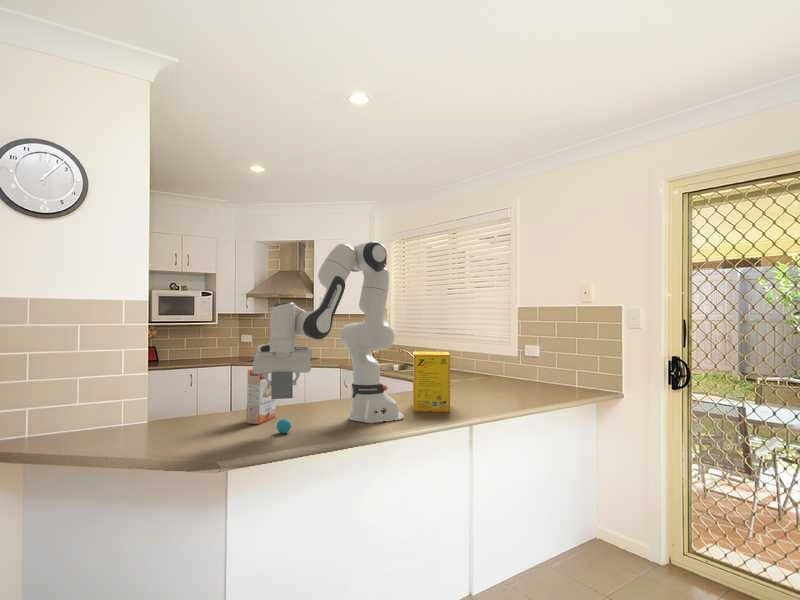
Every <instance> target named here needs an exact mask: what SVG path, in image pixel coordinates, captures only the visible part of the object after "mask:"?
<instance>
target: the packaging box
mask: <svg viewBox="0 0 800 600" xmlns="http://www.w3.org/2000/svg"><path fill="white" fill-rule="evenodd" d="M412 355H413V356H412V357H413V358H412V359H413V360H412V364H413V365H412V366H413V367H412V370H413V372H412V378H413V379H412V411H413V412H428V411H432V412H431V413H433V412H435V413H436V412H437V413H438V412H439V413H440V412H443V413H446V412H448V413H451V354H450V353H449V351H413V354H412Z"/></svg>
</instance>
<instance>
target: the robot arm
mask: <svg viewBox="0 0 800 600" xmlns="http://www.w3.org/2000/svg"><path fill="white" fill-rule="evenodd" d="M387 260H388V254H387V249H386V247H385V245H384V244H383V243H381V242H378V241H369V242H364V243H360V244H358V245H355V246H351V245H349V244H348V243H347V244H346V243H339V244H337V245H335V247H334V248H333V249H332V250H331V251H330V252H329V253H328V255H327V256H326V258H325V259H324V261H323V263H322V264H321V266H320V268H319V270H318V274H317V278H318V281H319V283H320V284H321V286H323V287H324V288H325V293H324V295H323V297H322V299H321V302H320V304H319V306H318V307H317V308H316V309H314V310H311V311H308V310H305V309H302V308H300V306H297V305H296V303H294V302H293V301H281V302H277V303H274V304H273V305H272V307H271V311H270V320H269V321H270V322H269V326H270V337H269V342H265V343H263V344H260V345H258V346H256V353H255V355H254V357H253V364H252V369H253V372H254V373H255V374H257V373H264V377H265V379H266V381H267V386H271V381H269V379H268V378H267V376H268V373H291V372H292V373H293V374H295V378H294V379H293V386H297V380H299V378H300V375H301V373H310V372H311V369H312V365H311V359H312V355H313V351H312V349H311V348H310V347H308V346H296V336H297V337H300V338H309V339H313V340H322V339H325V338H326V337H327V336H328V335H329V334H330V333H331V330H332V326H333V320H334V317H335V313H336V312H337V309H338V307H339V304H340V302H341V301H342V298H343V296H344V292H345V289H346V281H347V279H348V277H349V275H350V273H351V272H362V274H363V283H362V286H361V292H360V297H359V302H358V307H359V309H360V311H361V312H362V313H363V314H364V317H365V318H364V321H365V322H351V323H348V324H345V325H344V326H343V327H342V328H341V331H340V341H341V343H342V344H343V346H345V348H346V350H347V351H348V353H349V356H350V359H351V362H352V363H351V364H352V383H351V391H350V392H351V394H350V395H351V403H350V404H351V406H350V410H349V415H348V420H349V421H354V422H362V423H367V424H375V423H383V421H386V422H392V421H393V420H395V421H402V420H401V419H403V420H404V418H405V416H404V414H403V413H402V412H400V411H399V406H398V404H397V402H396V400H395V399H393V398H392V397H391V396H390V395H388V394H387V393H386V392H385V391H387V390H388V386H387V385H386V384H383V383H381V365H380V362H379V361H378V360H377V359H376V358H375V357H374V355H373V352H372V351H383V350H387V349H390V348H391V347H392V346H393V344H394V342H395V332H394V330H393V327H391V326H390V324H389V322H388V320H387V315H386V314H387V313H386V309H387V308H386V307H387V299H388V292H389V286H390V285H389V284H390V274H389V273H390V272H389V271H388V269H387V268H386V267H387ZM393 422H394V421H393Z"/></svg>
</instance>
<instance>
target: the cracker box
mask: <svg viewBox="0 0 800 600" xmlns="http://www.w3.org/2000/svg"><path fill="white" fill-rule="evenodd" d="M267 378H268V379H269V381H271V373H268V376H267ZM246 384H247V386H246V387H247V388H246V389H247V390H246V391H247V392H246V418H245V420H246V422H245V423H246V424H248V425H261V424H262V423H264V422H265V423H266V422H267V421H269V420H272V419H274V418H276V414H277V413H276V411H277V410H276V408H277V407H276V406H277V399H271V386H267V381H266V379H265V377H264V373H257V374H255V373H254V372H253V368H250V369H247V383H246Z"/></svg>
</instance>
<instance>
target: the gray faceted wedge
mask: <svg viewBox="0 0 800 600" xmlns="http://www.w3.org/2000/svg"><path fill="white" fill-rule="evenodd" d="M293 374H294V373H292V372H291V373H271V399H276V400H281V399H283V400H284V399H294V397H293V396H294V395H293V393H294V392H293V391H294V390H293V386H294V385H293V380H294V379H293V378H294V377H293Z"/></svg>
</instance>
